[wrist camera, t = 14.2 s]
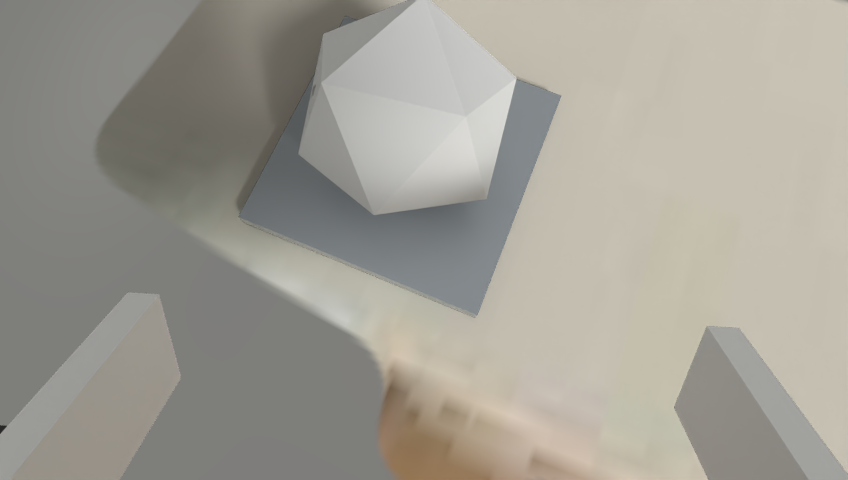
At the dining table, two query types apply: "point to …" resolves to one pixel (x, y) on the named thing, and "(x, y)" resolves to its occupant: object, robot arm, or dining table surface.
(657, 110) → the dining table surface
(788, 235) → the dining table surface
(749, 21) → the dining table surface
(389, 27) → the die
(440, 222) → the slate board
